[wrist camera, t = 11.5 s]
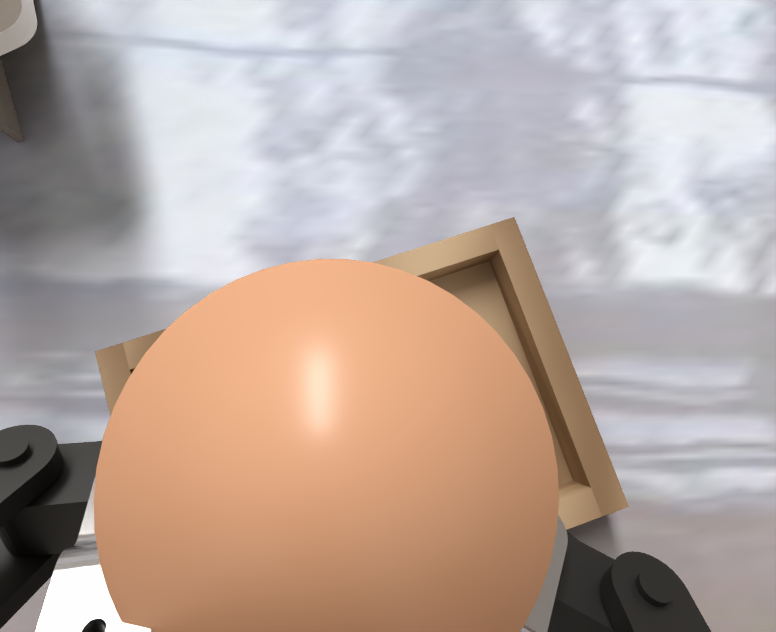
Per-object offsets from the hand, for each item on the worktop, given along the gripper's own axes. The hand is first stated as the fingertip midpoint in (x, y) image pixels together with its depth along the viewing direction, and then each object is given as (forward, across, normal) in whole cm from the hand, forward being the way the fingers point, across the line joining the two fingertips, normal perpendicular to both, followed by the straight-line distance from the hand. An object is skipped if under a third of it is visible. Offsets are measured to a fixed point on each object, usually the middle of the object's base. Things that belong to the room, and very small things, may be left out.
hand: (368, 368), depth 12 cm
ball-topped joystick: (+2, 0, +5) cm, 5 cm away
